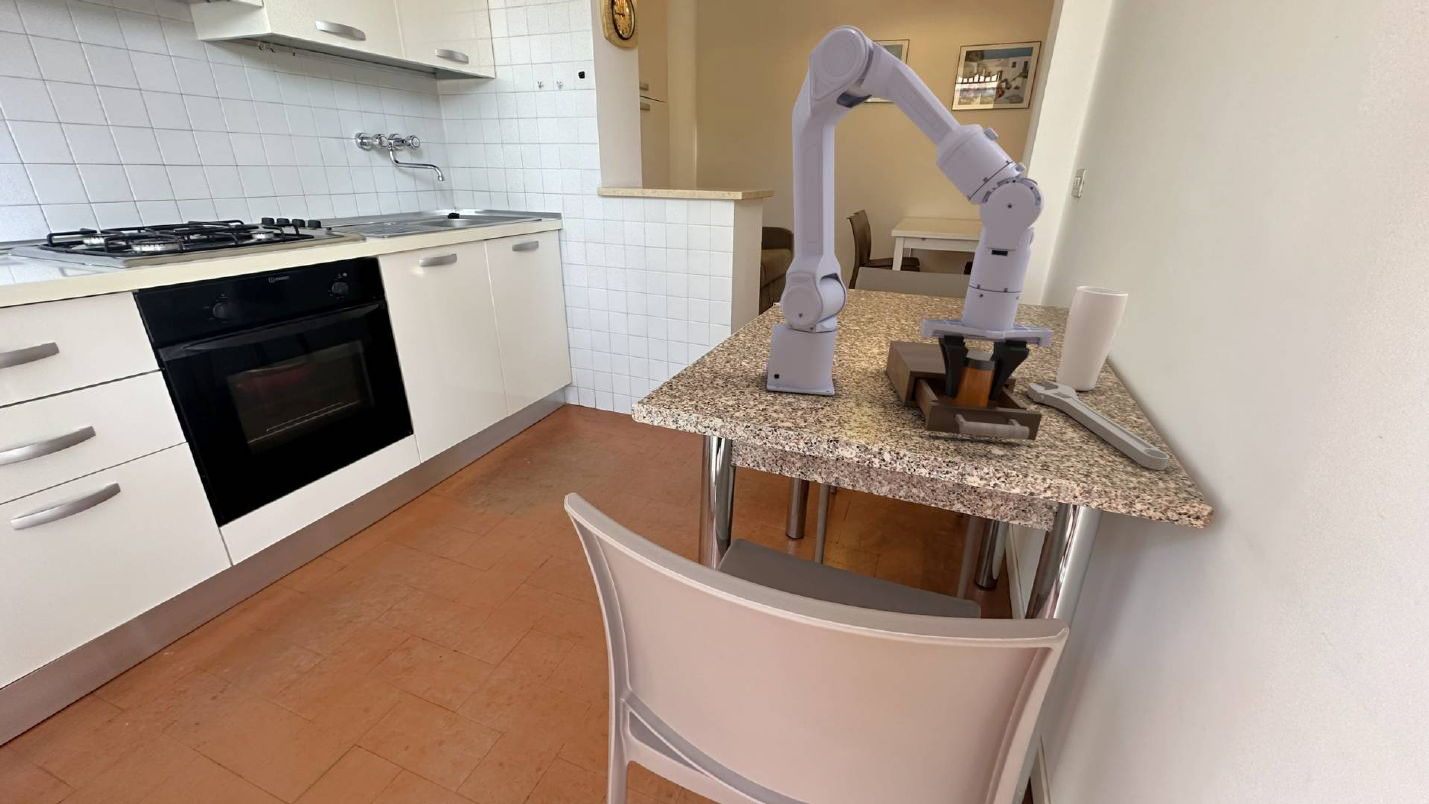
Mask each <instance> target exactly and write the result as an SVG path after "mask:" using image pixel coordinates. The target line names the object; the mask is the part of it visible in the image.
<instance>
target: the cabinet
mask: <svg viewBox="0 0 1429 804" xmlns="http://www.w3.org/2000/svg"><path fill="white" fill-rule="evenodd" d="M965 347H966V348H967V349H968V350H974V351H982V352H986V351H985V350H983V349H982V348H981V347H980V346H971V345H965ZM885 372H886V374H887V376H888V378H889V381H890V382H891V385H892V386H893V388H894V390H895V392H896V393H897V394H896V395H898V397H899V399H900V402H901V403H902V405H903V406H904V407H910V408H920V406H919V404H918V403H917V401H916V399H915V397H914V396H913V394H912V391H913V386H914V380H915V377H926V378H938V379H946V373H945V365H944V360H943V356H942V352H941V348H940V345H939V343H931V342H919V341H918V342H917V341H905V340H903V341H902V340H890V342H889V348H888V354H887V360H886V367H885ZM1017 380H1018V379H1017V377H1015V376H1014V375H1013V374H1011V376H1010V377H1009V378H1008V380H1007V381H1006V383H1005V384H1004V386H1005V387H1006V388H1007V389H1008V390H1009V391H1010V392H1011V393H1012V394H1013V395H1014V391H1015V387H1016V384H1017Z"/></svg>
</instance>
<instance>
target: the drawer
mask: <svg viewBox="0 0 1429 804" xmlns="http://www.w3.org/2000/svg"><path fill="white" fill-rule="evenodd" d="M912 394H913V396H914V397H915V399H916V401H917V403H918V404H919V406H920V407H919V408H920V410H921V412H922V413H923V415H924V416H925V422H924V426H923V427H924V429H925V431H927V432H937V433H945V434H947V433H948V434H959V435H968V436H969V435H970V436H982V437H992V438H993V437H994V438H1003V439H1004V438H1005V439H1013V440H1014V439H1016V440H1024V441H1025V440H1027V441H1036V440H1037V435H1038V432H1039V429H1040V425H1041V422H1042V418H1043V413H1041V412H1040V411H1039V410H1031V409H1028V407H1027V406H1026V405H1025V404H1024V403H1023V402H1022V401H1021V400H1020V399H1018V398H1017V397H1016V396H1015V395H1014V393H1013V394H1012V393H1011V392H1010V391H1009V390H1008V389H1007V388H1006V387H1005V386H1003V388H1002V390H1001V391H1000V393H999V395H998V397H997V399H996V401H990V400H989V399H988V404H987V407H985V406H973V405H961V404H950V403H951V398H952V397H949V396H948V395H947V393H946V379H938V378H926V377H915V380H914V386H913V391H912Z"/></svg>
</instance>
